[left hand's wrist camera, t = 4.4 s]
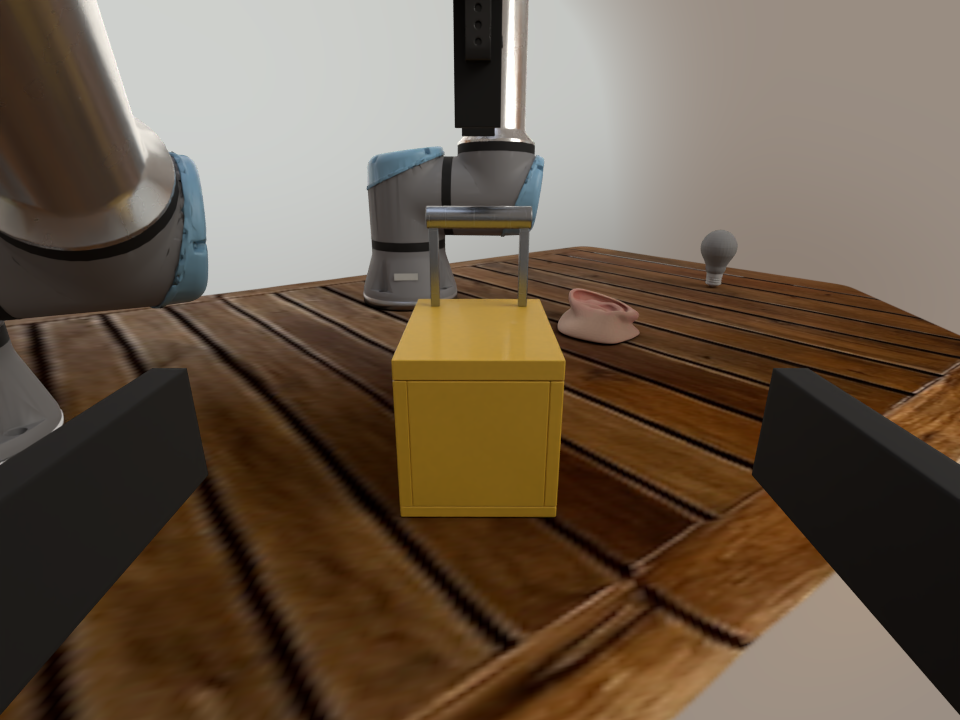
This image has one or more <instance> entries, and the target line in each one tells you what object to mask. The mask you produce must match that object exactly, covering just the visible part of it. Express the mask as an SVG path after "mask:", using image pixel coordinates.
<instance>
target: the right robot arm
mask: <svg viewBox="0 0 960 720" xmlns="http://www.w3.org/2000/svg"><path fill="white" fill-rule="evenodd" d="M453 17H454V94H455V128H462V136H464V137H463V138H462V139H461V140H460V141H459V142H458V156H456V157H444V156H443V155H444V151H443V148H442V147H438V146H437V147H427V148H418V149H410V150H403V151H396V152H390V153H384V154H379V155H376V156H374V157H372V158H371V159H370V161H369V163H368V186H367V190H368V197H369V211H370V225H371V239H372V258H371V262H370V266H369V270H368V273H367V277H366V281H365V285H364V301H365V303H367V304H368V305H370V306H373V307H377V308H382V309H389V310H414V308H415V306H416V304H417V301H418V299H431V292H430V259H429V229H427V227H426V206H531V207H532V227H533V225H534V222H535V218H536V213H537V208H538V203H539V197H540V191H541V184H542V177H543V167H544V159H543V158H542V157H540V156H539V155H536V157H535V156H534V154H535V143H534V142H533V141H532V140H531V139H530V137H529V136H528V135H527V134H526V132H525V112H526V75H527V37H528V0H453ZM532 227H531V229H532ZM531 229H529V231H530V230H531ZM438 232H439V274H440V299H457V287H456V283H455V280H454V277H453V274H452V271H451V268H450V265H449V262H448V259H447V256H446V253H445V235H491V236H501V237H504V236H505V235H519V234H520V229H438Z"/></svg>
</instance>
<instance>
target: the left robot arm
mask: <svg viewBox="0 0 960 720" xmlns="http://www.w3.org/2000/svg"><path fill="white" fill-rule="evenodd" d="M207 281H208V252H207V246H206V222H205V212H204V204H203V196H202V190H201V184H200V178H199V174H198V170H197V167H196V165H195V163H194V161H193V160H191V159H190V158H189V157H187V156H184V155H177V154H176V153H174V152H168V150H167V148H166V146H165V144H164V143H163V142H162V140H161V139H160V138H159V137H158V135H157V134H156V133H155V132H153V131H152V130H151V129H150V128H149V127H148V126H147V125H145V124H144V123H143V122H141V121H140V120H138V119H137V118H135V117H133V114H132V111H131V108H130V105H129V102H128V99H127V95H126V92H125V89H124V86H123V83H122V80H121V76H120V73H119V70H118V67H117V64H116V61H115V57H114V54H113V51H112V48H111V45H110V42H109V39H108V35H107V32H106V29H105V26H104V23H103V20H102V16H101V13H100V10H99V7H98V4H97V1H96V0H0V715H1V713H2V712H3V711H4V710H5V709H6V708H7V707H8V705H9V704H10V703H11V702H12V701H13V700H14V698H15V697H16V696H17V695H18V694H19V693H20V692H21V690H22V689H23V688H24V687H25V686H26V685H27V683H28V682H29V681H30V680H31V679H32V678H33V676H34V675H35V674H36V673H37V672H38V671H39V670H40V668H41V667H42V666H43V665H44V664H45V663H46V661H47V660H48V659H49V658H50V657H51V656H52V655H53V653H54V652H55V651H56V650H57V649H58V648H59V646H60V645H61V644H62V643H63V642H64V641H65V640H66V638H67V637H68V636H69V635H70V634H71V633H72V631H73V630H74V629H75V628H76V627H77V626H78V625H79V623H80V622H81V621H82V620H83V619H84V618H85V616H86V615H87V614H88V613H89V612H90V611H91V610H92V608H93V607H94V606H95V605H96V604H97V603H98V601H99V600H100V599H101V598H102V597H103V596H104V595H105V593H106V592H107V591H108V590H109V589H110V588H111V586H112V585H113V584H114V583H115V582H116V581H117V580H118V578H119V577H120V576H121V575H122V574H123V573H124V571H125V570H126V569H127V568H128V567H129V566H130V564H131V563H132V562H133V561H134V560H135V559H136V558H137V556H138V555H139V554H140V553H141V552H142V551H143V549H144V548H145V547H146V546H147V545H148V544H149V543H150V541H151V540H152V539H153V538H154V537H155V536H156V534H157V533H158V532H159V531H160V530H161V529H162V528H163V526H164V525H165V524H166V523H167V522H168V521H169V519H170V518H171V517H172V516H173V515H174V514H175V513H176V511H177V510H178V509H179V508H180V507H181V506H182V504H183V503H184V502H185V501H186V500H187V499H188V498H189V496H190V495H191V494H192V493H193V492H194V491H195V489H196V488H197V487H198V486H199V485H200V484H201V483H202V481H203V480H204V479H205V478H206V477H207V476H208V471H207V466H206V461H205V456H204V452H203V447H202V442H201V437H200V432H199V427H198V422H197V417H196V412H195V407H194V402H193V397H192V392H191V387H190V382H189V378H188V373H187V368H152V369H150V370H149V371H147V372H146V373H144V374H143V375H141V376H139V377H138V378H136V379H135V380H133V381H132V382H130V383H128V384H127V385H125V386H124V387H122V388H120V389H119V390H117V391H116V392H114V393H113V394H111V395H109V396H108V397H106V398H105V399H103V400H101V401H100V402H98V403H97V404H95V405H94V406H92V407H90V408H89V409H87V410H86V411H84V412H83V413H81V414H79V415H78V416H76V417H75V418H73V419H71V420H70V421H68V422H67V423H66V422H65V419H64V416H63V413H62V410H61V409H60V407H59V405H58V403H57V402H56V401H55V399H54V398H53V397H52V396H51V394H50V393H49V392H48V391H47V390H46V388H45V387H44V386H43V385H42V383H41V382H40V381H39V380H38V379H37V377H36V376H35V375H34V374H33V372H32V371H31V370H30V369H29V367H28V366H27V365H26V364H25V363H24V361H23V360H22V359H21V358H20V356H19V355H18V354H17V353H16V352H15V350H14V348H13V346H12V344H11V341H10V338H9V335H8V332H7V329H6V326H5V323H4V321H5V320H15V319H23V318H33V317H44V316H55V315H65V314H76V313H87V312H98V311H108V310H119V309H130V308H140V307H151V308H163V307H165V306H166V305H170V304H177V303H184V302H190V301H194V300H196V299H198V298H199V297H200V296H201V295H202V294H203V293H204V291H205V289H206V286H207ZM752 476H753V477H754V478H755V479H756V480H757V481H758V483H759V484H760V485H761V486H762V487H763V488H764V489H765V491H766V492H767V493H768V494H769V495H770V496H771V498H772V499H773V500H774V501H775V502H776V503H777V504H778V506H779V507H780V508H781V509H782V510H783V511H784V513H785V514H786V515H787V516H788V517H789V518H790V519H791V521H792V522H793V523H794V524H795V525H796V526H797V528H798V529H799V530H800V531H801V532H802V533H803V534H804V536H805V537H806V538H807V539H808V540H809V541H810V543H811V544H812V545H813V546H814V547H815V548H816V549H817V551H818V552H819V553H820V554H821V555H822V556H823V558H824V559H825V560H826V561H827V562H828V563H829V564H830V566H831V567H832V568H833V569H834V570H835V571H836V573H837V574H838V575H839V576H840V577H841V578H842V580H843V581H844V582H845V583H846V584H847V585H848V586H849V587H850V589H851V590H852V591H853V592H854V593H855V594H856V596H857V597H858V598H859V599H860V600H861V601H862V603H863V604H864V605H865V606H866V607H867V608H868V610H869V611H870V612H871V613H872V614H873V615H874V616H875V618H876V619H877V620H878V621H879V622H880V623H881V625H882V626H883V627H884V628H885V629H886V630H887V631H888V633H889V634H890V635H891V636H892V637H893V638H894V640H895V641H896V642H897V643H898V644H899V645H900V646H901V648H902V649H903V650H904V651H905V652H906V653H907V654H908V656H909V657H910V658H911V659H912V660H913V661H914V663H915V664H916V665H917V666H918V667H919V668H920V670H921V671H922V672H923V673H924V674H925V675H926V676H927V678H928V679H929V680H930V681H931V682H932V683H933V684H934V686H935V687H936V688H937V689H938V690H939V692H940V693H941V694H942V695H943V696H944V697H945V698H946V700H947V701H948V702H949V703H950V704H951V705H952V706H953V708H954V709H955V710H956V711H957V712H958V713H959V715H960V464H958V463H956V462H955V461H953V460H952V459H950V458H949V457H947V456H945V455H944V454H942V453H941V452H939V451H938V450H936V449H934V448H933V447H931V446H930V445H928V444H926V443H925V442H923V441H922V440H920V439H919V438H917V437H915V436H914V435H912V434H911V433H909V432H908V431H906V430H904V429H903V428H901V427H900V426H898V425H896V424H895V423H893V422H892V421H890V420H889V419H887V418H885V417H884V416H882V415H881V414H879V413H877V412H876V411H874V410H873V409H871V408H870V407H868V406H866V405H865V404H863V403H862V402H860V401H859V400H857V399H855V398H854V397H852V396H851V395H849V394H847V393H846V392H844V391H843V390H841V389H840V388H838V387H836V386H835V385H833V384H832V383H830V382H828V381H827V380H825V379H824V378H822V377H821V376H819V375H817V374H816V373H814V372H813V371H811V370H810V369H808V368H773V373H772V378H771V382H770V387H769V392H768V397H767V402H766V407H765V412H764V417H763V422H762V427H761V432H760V437H759V442H758V447H757V452H756V456H755V461H754V466H753V471H752Z"/></svg>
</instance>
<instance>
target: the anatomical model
mask: <svg viewBox="0 0 960 720" xmlns="http://www.w3.org/2000/svg"><path fill="white" fill-rule="evenodd" d="M569 303H570V306H571V308H570V309H569V310H568V311H566V312H565V313H564V314H563V315H562V317H561V318H560V320H559V322H558V330H559V331H560V332H561V333H563V334H565V335H568V336H571V337H574V338H578V339H582V340H587V341H591V342H597V343H604V344H615V343H620V342H623V341H626V340H629V339H632V338H634V337H636V336H637V335H639V331H638V329H637V328H635V327H634V326H633V324H632V322H634V321H635V320H637V319H638V317H639V314H638V312H637V311H635V310H634V309H632V308H631V307H629V306H628V305H626V304H624V303H622V302H621V301H618V300H616V299H613V298H611V297H608V296H605V295H602V294H599V293H596V292H592V291H589V290H585V289H573V290H571V291H570V293H569Z"/></svg>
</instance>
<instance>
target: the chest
mask: <svg viewBox="0 0 960 720" xmlns="http://www.w3.org/2000/svg"><path fill="white" fill-rule="evenodd" d="M563 392H564V381H563V380H393V397H394V414H395V431H396V448H397V464H398V481H399V498H400V513H401V517H555V516H556V505H557V489H558V473H559V457H560V441H561V425H562V408H563Z"/></svg>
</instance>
